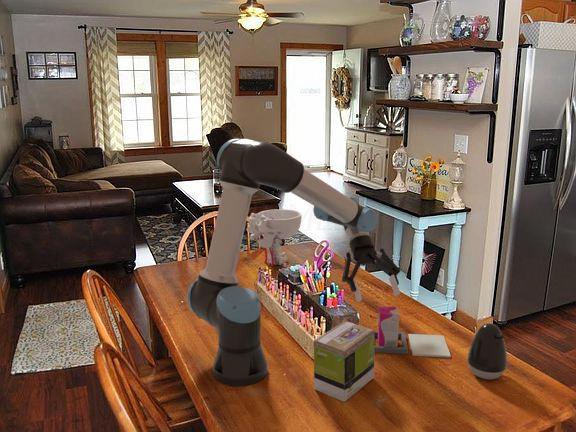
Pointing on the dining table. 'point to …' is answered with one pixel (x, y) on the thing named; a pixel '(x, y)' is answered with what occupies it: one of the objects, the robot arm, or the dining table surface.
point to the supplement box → (388, 326)
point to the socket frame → (393, 349)
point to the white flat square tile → (428, 345)
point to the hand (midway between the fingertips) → (379, 297)
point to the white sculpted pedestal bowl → (274, 231)
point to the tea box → (344, 360)
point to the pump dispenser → (488, 352)
